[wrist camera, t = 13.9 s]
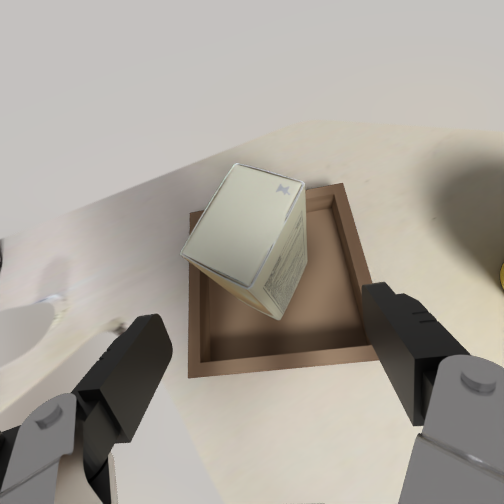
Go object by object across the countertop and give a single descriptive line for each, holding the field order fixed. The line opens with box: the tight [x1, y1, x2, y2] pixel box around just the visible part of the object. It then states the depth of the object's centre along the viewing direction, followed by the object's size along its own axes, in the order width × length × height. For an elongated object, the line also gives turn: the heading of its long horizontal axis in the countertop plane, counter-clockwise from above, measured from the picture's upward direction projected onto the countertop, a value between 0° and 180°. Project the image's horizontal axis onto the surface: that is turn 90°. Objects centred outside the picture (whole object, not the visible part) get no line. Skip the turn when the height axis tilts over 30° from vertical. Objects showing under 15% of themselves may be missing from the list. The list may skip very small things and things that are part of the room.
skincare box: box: [180, 163, 308, 320], centre depth 18 cm, size 6×4×12 cm
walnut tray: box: [188, 183, 379, 378], centre depth 23 cm, size 15×15×3 cm
